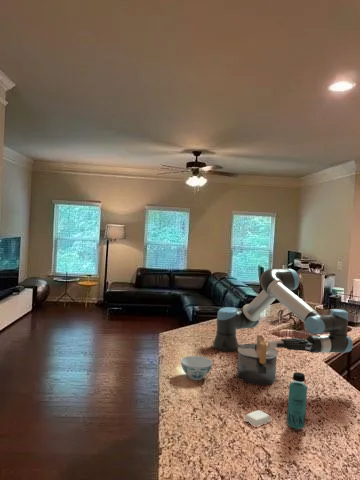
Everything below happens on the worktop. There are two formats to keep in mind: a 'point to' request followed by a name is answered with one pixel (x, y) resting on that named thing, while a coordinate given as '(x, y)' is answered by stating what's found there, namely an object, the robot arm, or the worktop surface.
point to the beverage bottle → (297, 402)
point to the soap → (257, 418)
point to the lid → (258, 350)
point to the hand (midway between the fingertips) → (269, 344)
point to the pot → (256, 370)
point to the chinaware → (196, 366)
